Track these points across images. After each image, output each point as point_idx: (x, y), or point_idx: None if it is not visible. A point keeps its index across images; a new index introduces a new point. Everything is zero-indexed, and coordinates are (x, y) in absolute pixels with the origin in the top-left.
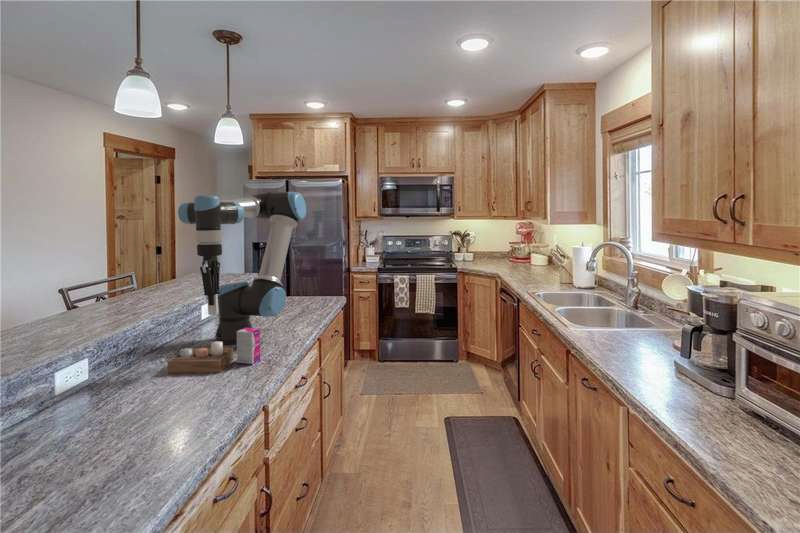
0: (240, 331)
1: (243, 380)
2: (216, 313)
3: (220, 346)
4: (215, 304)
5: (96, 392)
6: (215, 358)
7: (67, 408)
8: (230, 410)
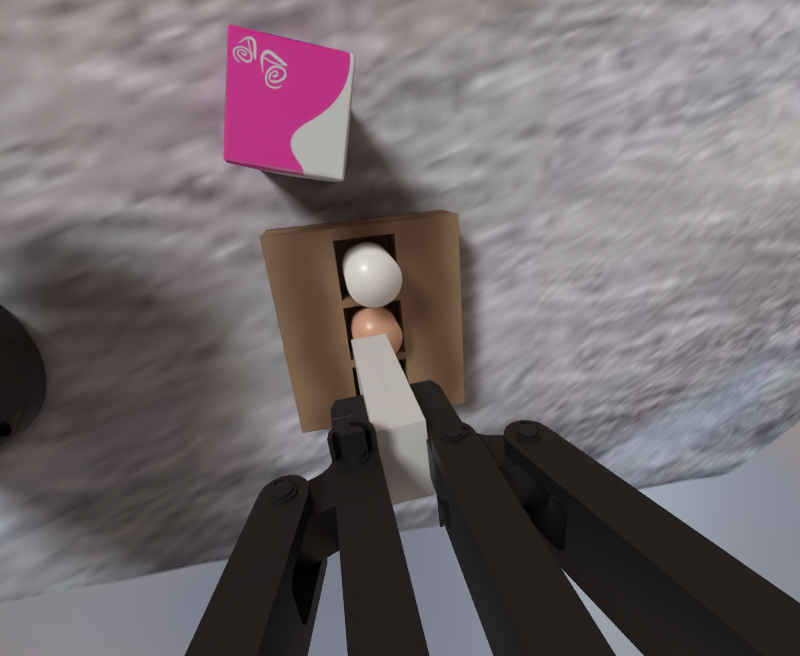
0: (345, 151)
1: (527, 71)
2: (387, 339)
3: (385, 252)
4: (403, 376)
5: None
6: (427, 246)
7: (660, 451)
8: (781, 13)
